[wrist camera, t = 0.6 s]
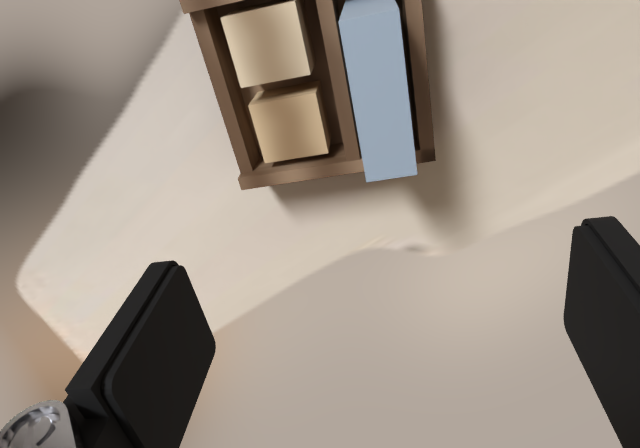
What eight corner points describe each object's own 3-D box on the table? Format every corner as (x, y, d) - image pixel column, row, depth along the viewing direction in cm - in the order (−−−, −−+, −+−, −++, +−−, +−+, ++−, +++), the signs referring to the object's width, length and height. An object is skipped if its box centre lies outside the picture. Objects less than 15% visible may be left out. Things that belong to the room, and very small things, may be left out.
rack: (409, -60, 31) (416, -60, 27) (427, 135, 38) (435, 160, 34) (201, -11, 34) (178, -3, 30) (254, 163, 41) (241, 190, 37)
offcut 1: (302, -6, 33) (295, 1, 29) (316, 61, 35) (310, 74, 31) (235, 9, 33) (220, 17, 30) (252, 74, 36) (240, 88, 32)
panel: (389, -12, 32) (399, 8, 23) (404, 114, 36) (417, 174, 27) (346, -3, 32) (338, 21, 23) (366, 120, 37) (366, 182, 28)
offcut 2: (319, 79, 36) (315, 92, 33) (331, 136, 38) (328, 153, 35) (257, 91, 36) (248, 105, 33) (272, 146, 39) (264, 163, 36)
